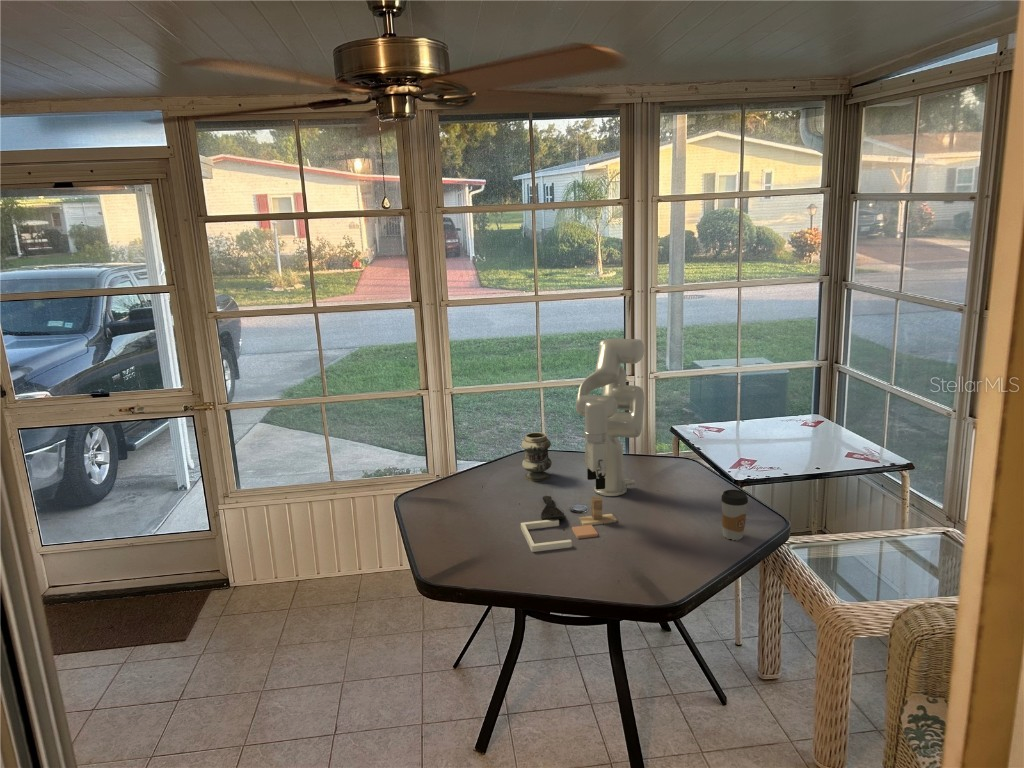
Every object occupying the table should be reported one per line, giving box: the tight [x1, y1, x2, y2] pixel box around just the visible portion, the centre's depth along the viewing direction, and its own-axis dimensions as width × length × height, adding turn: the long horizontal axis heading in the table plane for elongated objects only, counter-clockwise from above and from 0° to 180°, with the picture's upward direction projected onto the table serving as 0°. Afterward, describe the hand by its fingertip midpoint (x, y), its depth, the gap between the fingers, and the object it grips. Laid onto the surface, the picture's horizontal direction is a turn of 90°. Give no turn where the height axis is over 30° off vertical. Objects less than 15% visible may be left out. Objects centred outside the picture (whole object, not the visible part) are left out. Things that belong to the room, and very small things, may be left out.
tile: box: [571, 525, 599, 540], centre depth 238 cm, size 7×7×2 cm
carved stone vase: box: [521, 431, 553, 482], centre depth 288 cm, size 12×12×18 cm
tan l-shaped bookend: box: [578, 496, 617, 526], centre depth 246 cm, size 5×12×8 cm, turn 101°
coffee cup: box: [721, 489, 749, 541], centre depth 230 cm, size 8×8×15 cm
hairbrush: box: [540, 495, 566, 521], centre depth 256 cm, size 8×4×25 cm
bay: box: [520, 519, 573, 553], centre depth 236 cm, size 13×18×2 cm
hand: (596, 484), depth 244 cm, fingers open, 9 cm apart
